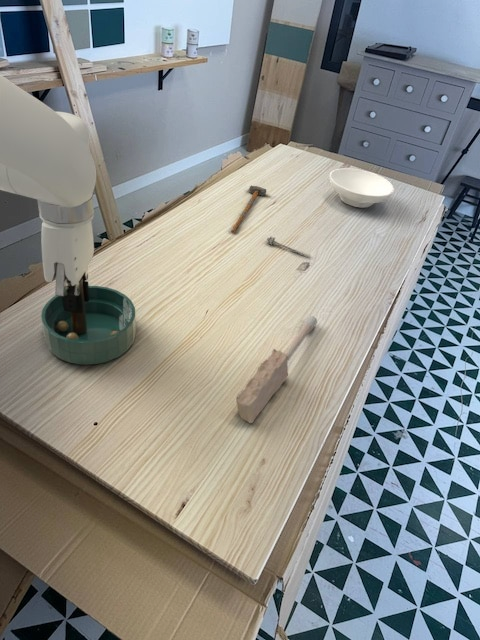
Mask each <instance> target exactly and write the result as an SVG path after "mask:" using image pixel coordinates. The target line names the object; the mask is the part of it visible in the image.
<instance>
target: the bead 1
mask: <svg viewBox="0 0 480 640" xmlns="http://www.w3.org/2000/svg"><path fill="white" fill-rule="evenodd" d="M56 327H57V330H58V331H60V332H65V331H67V330H68V328H69V325H68V323H67V322H66V321H59V322H58V323H57V326H56Z"/></svg>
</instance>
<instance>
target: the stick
mask: <svg viewBox="0 0 480 640" xmlns="http://www.w3.org/2000/svg"><path fill="white" fill-rule="evenodd" d="M67 286H72V285H71V284H70V283H67ZM72 287H73V286H72ZM79 289H80V292H81V293H82V297H83V308H84V311H83V313H75V312H71V320H72V329H73V332H74V333H76V334H82V333H84V332H86V330H87V324H86V313H85V302H84V291H83V280H82V278H81V279H80V281H79Z"/></svg>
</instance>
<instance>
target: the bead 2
mask: <svg viewBox="0 0 480 640" xmlns="http://www.w3.org/2000/svg"><path fill="white" fill-rule="evenodd" d="M66 338H69V339H74V340H78V335H77V334H76V333H73V332H72V333H69V334H67V336H66Z"/></svg>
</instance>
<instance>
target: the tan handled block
mask: <svg viewBox="0 0 480 640" xmlns="http://www.w3.org/2000/svg"><path fill="white" fill-rule="evenodd" d="M317 324H318V320H317V318H316V316H313V315H309V316H307V317H306V319H305V320H304V321H303V323H302V325H301V326H302V327H301V328H300V330H298V333H297V334H296V335H295V337H294V338H293V340H292V341H291V343H290V344H289V346H288V347H287V348H286V350H285V352H283V351H281V350H276V348H273V349H272V351H271V354H270V355H269V356H268V358H267V359H264V361H262V362H261V363H260V364H259V366H258V367H257V370H256V372H255V374H254V376H253V377H251V378H250V379H249V380H248V381H247V383H246V385H245V388H244V389H242V390H241V391H240V393H239V394H237V396H236V405H237V411H238V413H239V416H240V418H241V419H242V420H244V421H246V422H247V423H249V424H253V423H254V421H255V420H256V418H257V417H258V416H259V414H260V413H261V411H263V409H264V407H266V405H267V403H268V402H269V401H270V400H271V398H272V397H273V396H274V394H276V393H277V392H278V390H279V389H280V388H281V386H282V384H283V383H284V382H285V381H286V380H287V378H288V376H289V371H288V370H289V369H288V361H289V360H290V359H291V357H292V355H294V353H295V351H296V350H297V349H298V347H299V346H300V344H302V341H304V339H305V337H306V336H307V335H308V333H309V332H311V331H312V330H313V329H314V328H315V326H316V325H317Z"/></svg>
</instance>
